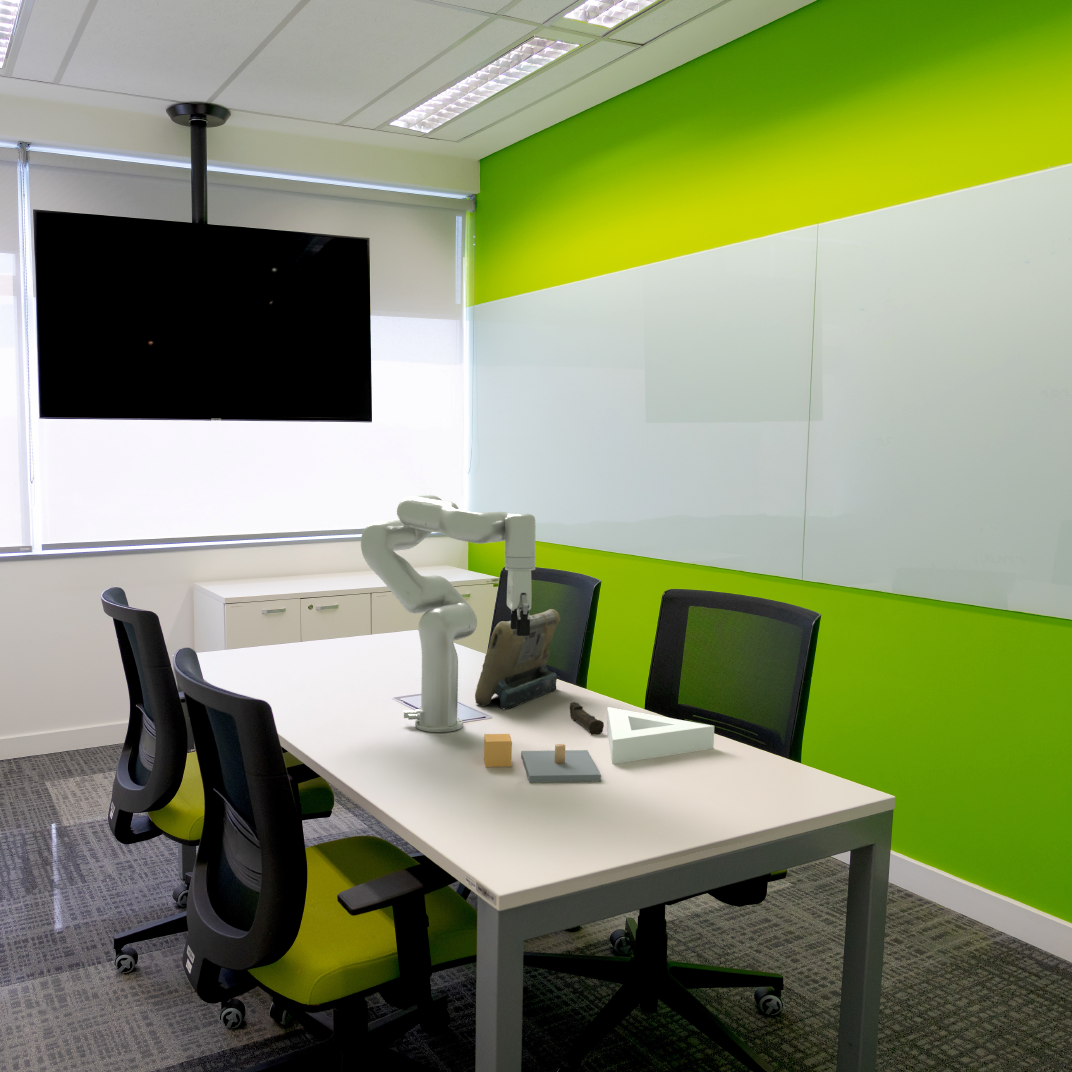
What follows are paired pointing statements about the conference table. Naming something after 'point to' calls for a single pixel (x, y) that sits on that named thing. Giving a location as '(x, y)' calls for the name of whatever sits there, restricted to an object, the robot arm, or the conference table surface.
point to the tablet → (518, 663)
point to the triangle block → (653, 736)
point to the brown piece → (585, 719)
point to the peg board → (560, 765)
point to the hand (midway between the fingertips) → (520, 632)
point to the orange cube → (497, 750)
